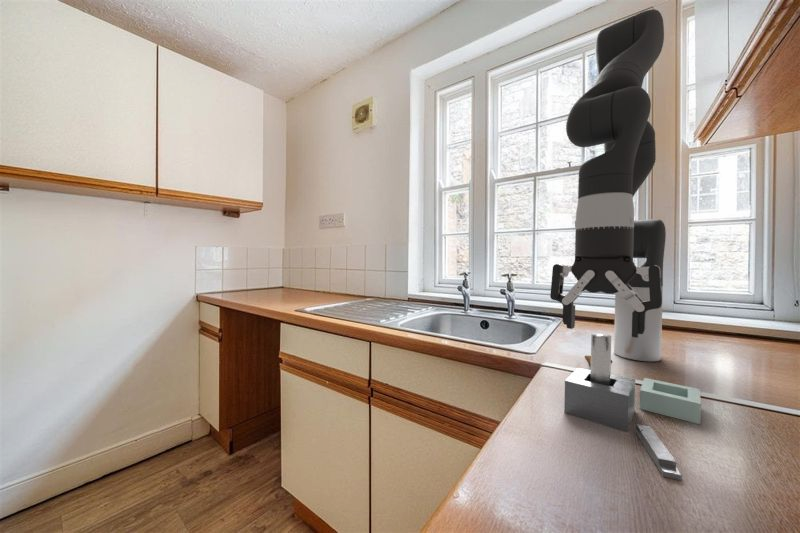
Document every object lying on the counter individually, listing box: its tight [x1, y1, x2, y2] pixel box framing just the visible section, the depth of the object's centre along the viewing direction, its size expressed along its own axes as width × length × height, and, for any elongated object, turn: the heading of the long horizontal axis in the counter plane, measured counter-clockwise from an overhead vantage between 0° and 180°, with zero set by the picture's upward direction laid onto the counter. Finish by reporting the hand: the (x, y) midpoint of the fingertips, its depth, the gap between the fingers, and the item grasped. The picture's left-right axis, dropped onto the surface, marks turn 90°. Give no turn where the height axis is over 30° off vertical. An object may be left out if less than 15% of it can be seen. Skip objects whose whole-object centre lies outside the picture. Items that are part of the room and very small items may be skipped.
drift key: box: [635, 423, 683, 481], centre depth 38 cm, size 9×2×1 cm, turn 158°
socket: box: [563, 367, 636, 432], centre depth 49 cm, size 8×8×5 cm
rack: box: [639, 377, 702, 425], centre depth 50 cm, size 7×7×3 cm
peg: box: [590, 332, 612, 386], centre depth 49 cm, size 3×3×12 cm
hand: (601, 332), depth 49 cm, fingers open, 8 cm apart
